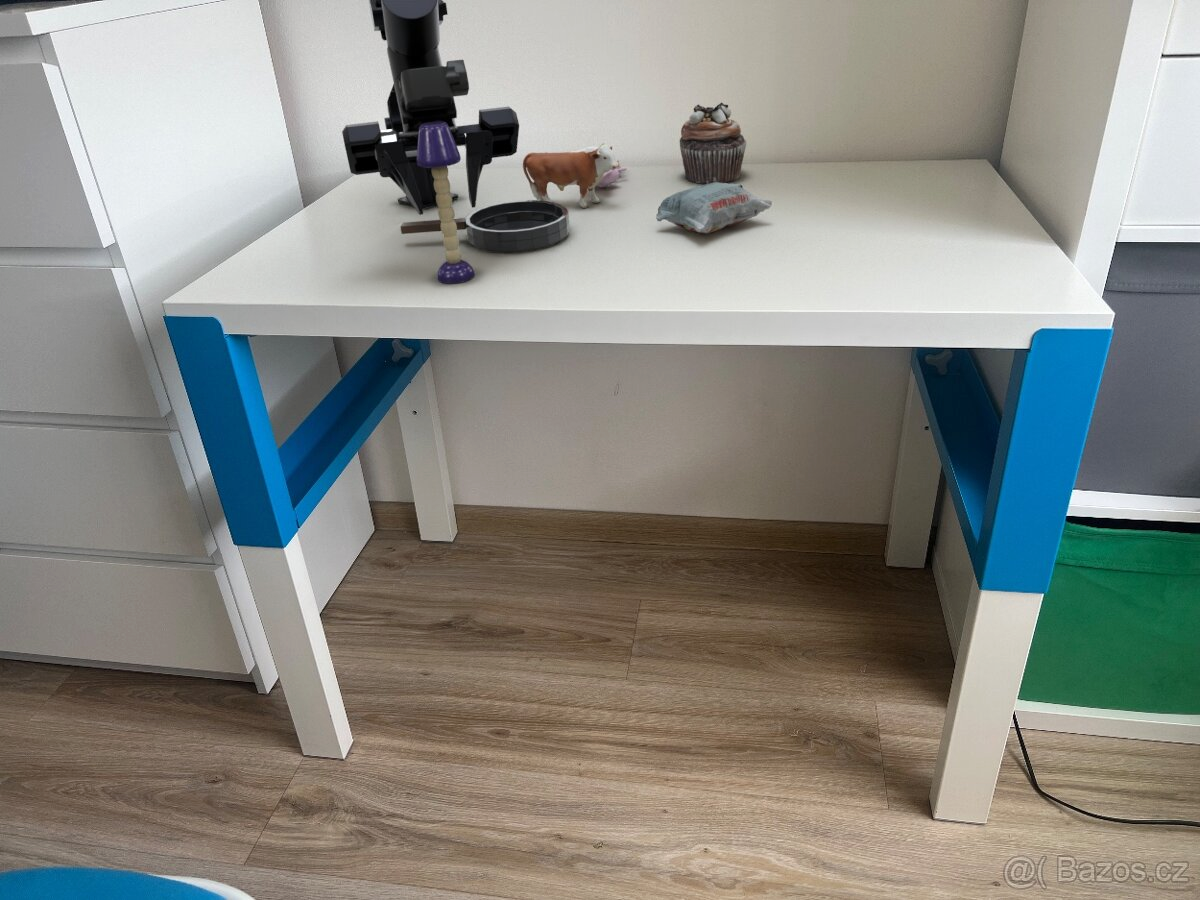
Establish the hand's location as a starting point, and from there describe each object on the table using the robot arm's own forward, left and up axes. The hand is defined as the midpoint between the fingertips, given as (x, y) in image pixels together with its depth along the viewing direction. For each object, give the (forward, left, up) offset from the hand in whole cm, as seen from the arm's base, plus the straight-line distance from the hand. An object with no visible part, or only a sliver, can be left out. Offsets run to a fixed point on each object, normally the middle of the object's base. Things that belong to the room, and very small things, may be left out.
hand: (447, 209), depth 94 cm
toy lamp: (-1, +1, -8) cm, 8 cm away
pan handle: (-13, +7, -6) cm, 16 cm away
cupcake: (-1, +49, -8) cm, 50 cm away
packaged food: (+13, +30, -8) cm, 34 cm away
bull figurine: (-8, +28, -8) cm, 30 cm away
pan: (-5, +14, -8) cm, 17 cm away
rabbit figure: (-12, +37, -8) cm, 40 cm away
